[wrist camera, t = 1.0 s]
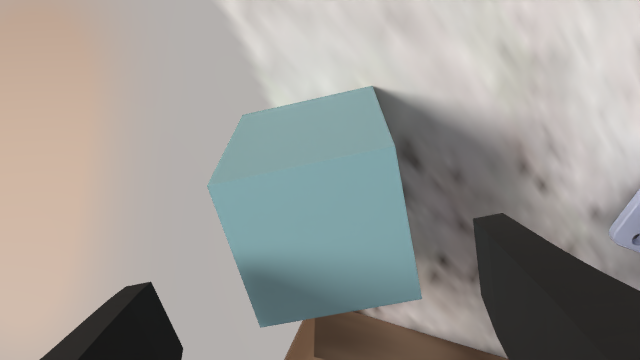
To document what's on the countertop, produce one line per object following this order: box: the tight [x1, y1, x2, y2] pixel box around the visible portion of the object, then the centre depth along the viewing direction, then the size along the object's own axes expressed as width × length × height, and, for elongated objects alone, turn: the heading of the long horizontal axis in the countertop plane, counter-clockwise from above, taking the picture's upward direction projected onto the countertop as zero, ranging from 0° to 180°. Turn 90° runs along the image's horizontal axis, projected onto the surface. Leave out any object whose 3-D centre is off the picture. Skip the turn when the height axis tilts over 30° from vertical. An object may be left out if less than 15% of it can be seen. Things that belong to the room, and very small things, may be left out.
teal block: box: [207, 86, 422, 327], centre depth 14 cm, size 4×4×6 cm
